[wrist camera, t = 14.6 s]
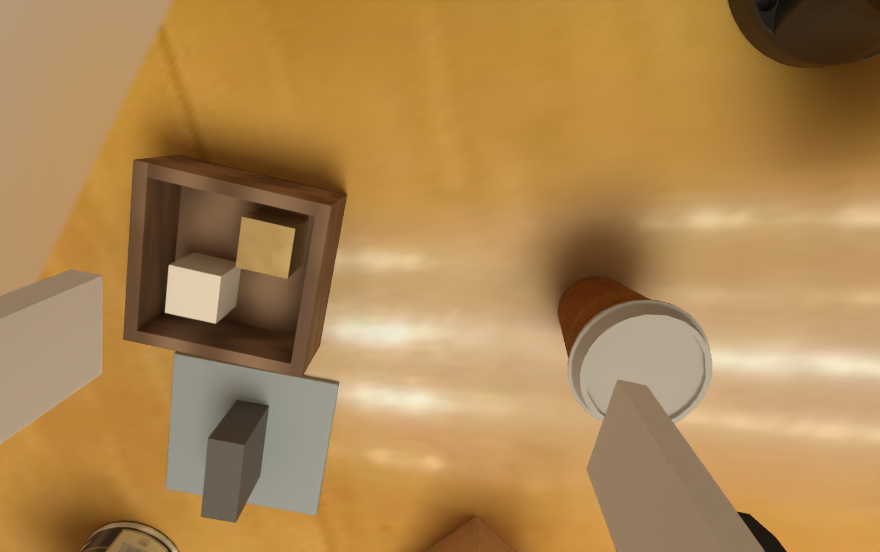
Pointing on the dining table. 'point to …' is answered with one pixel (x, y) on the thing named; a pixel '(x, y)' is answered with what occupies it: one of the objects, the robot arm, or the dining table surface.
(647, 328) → the disposable coffee cup
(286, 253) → the brass block
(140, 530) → the coffee can
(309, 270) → the box
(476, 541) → the sandwich container
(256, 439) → the lid
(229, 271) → the off-white block
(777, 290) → the dining table surface
